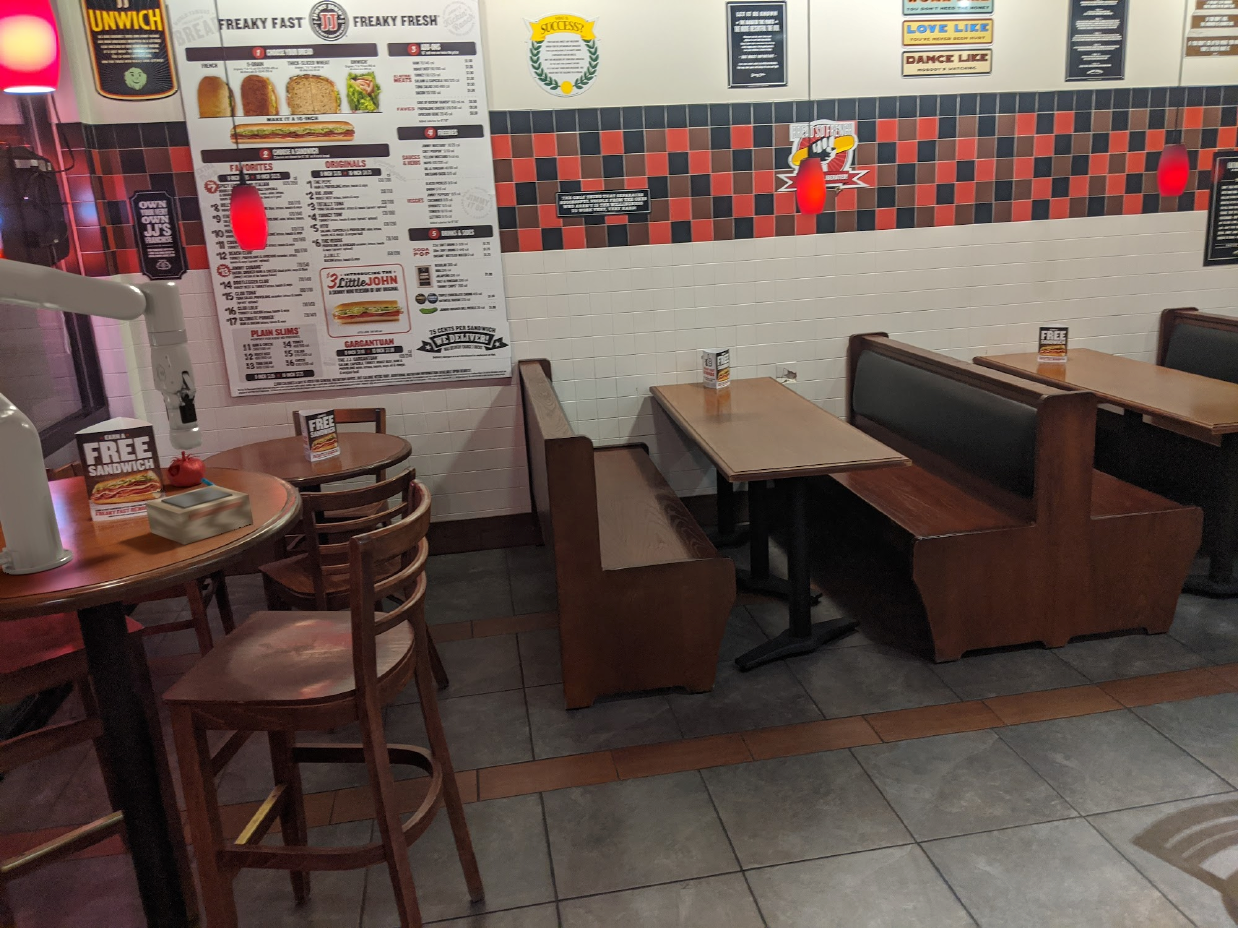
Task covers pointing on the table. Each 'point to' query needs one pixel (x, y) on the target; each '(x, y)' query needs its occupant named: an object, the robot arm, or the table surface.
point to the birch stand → (199, 514)
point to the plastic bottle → (180, 423)
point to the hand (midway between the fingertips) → (182, 420)
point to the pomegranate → (186, 471)
